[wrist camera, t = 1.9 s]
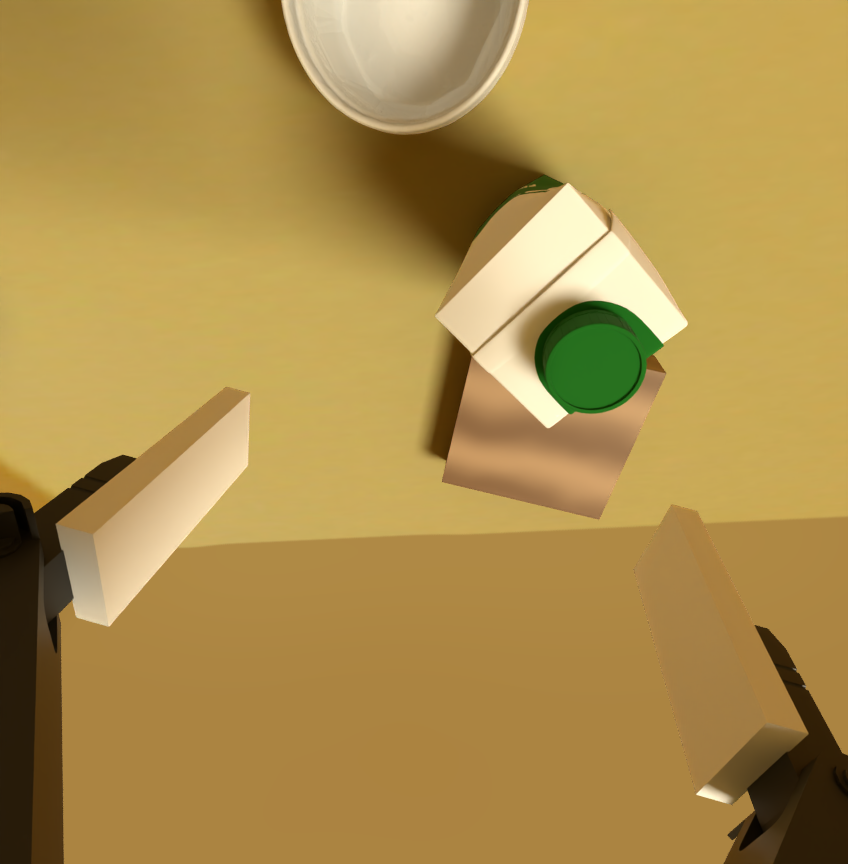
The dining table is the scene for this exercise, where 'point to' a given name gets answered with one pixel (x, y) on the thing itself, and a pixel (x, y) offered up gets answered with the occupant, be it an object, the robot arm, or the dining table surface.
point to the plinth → (543, 446)
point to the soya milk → (560, 303)
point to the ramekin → (404, 56)
